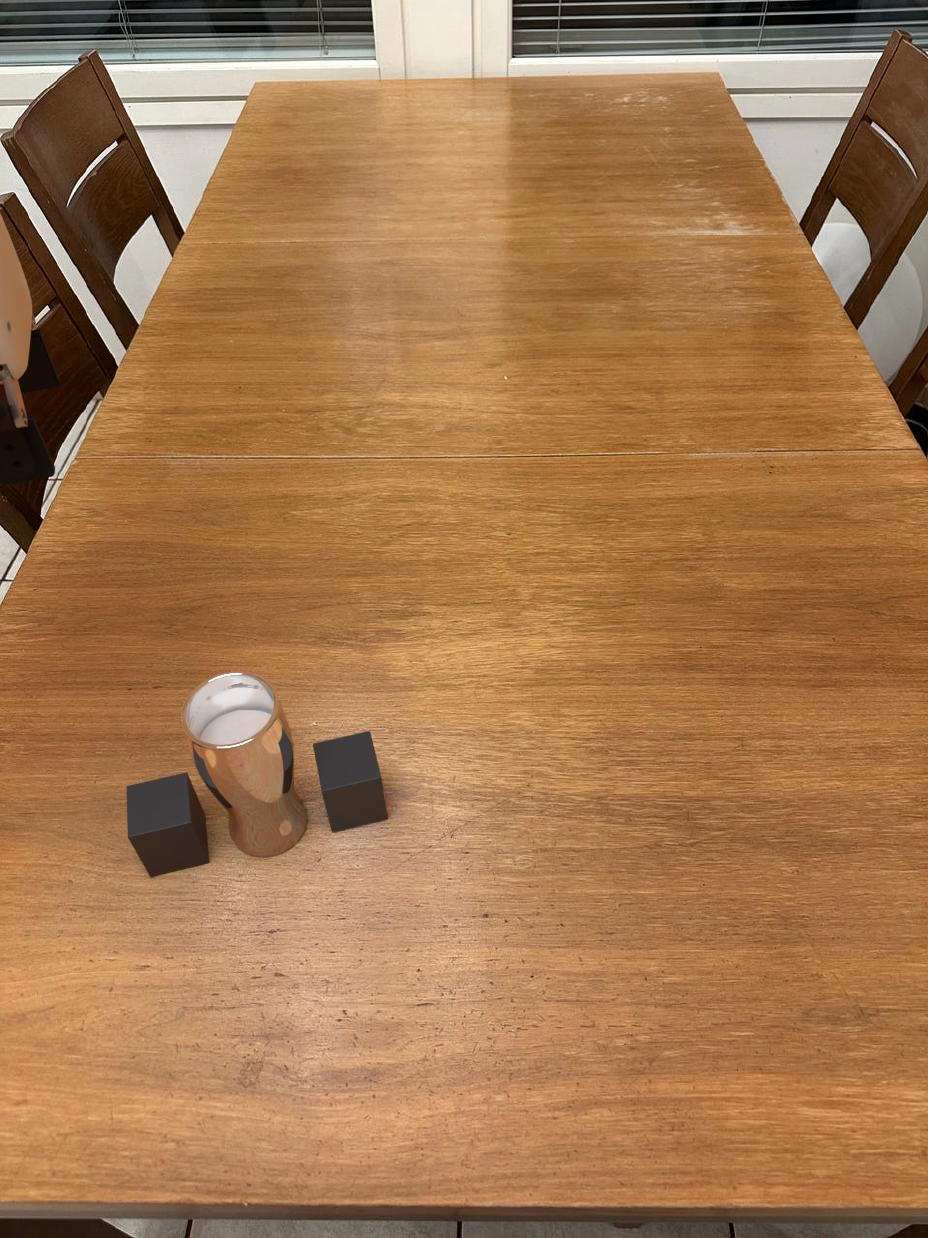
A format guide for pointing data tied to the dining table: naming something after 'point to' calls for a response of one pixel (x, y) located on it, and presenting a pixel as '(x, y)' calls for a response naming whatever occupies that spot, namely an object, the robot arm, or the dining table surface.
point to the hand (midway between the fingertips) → (32, 430)
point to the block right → (350, 781)
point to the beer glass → (246, 759)
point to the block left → (167, 824)
